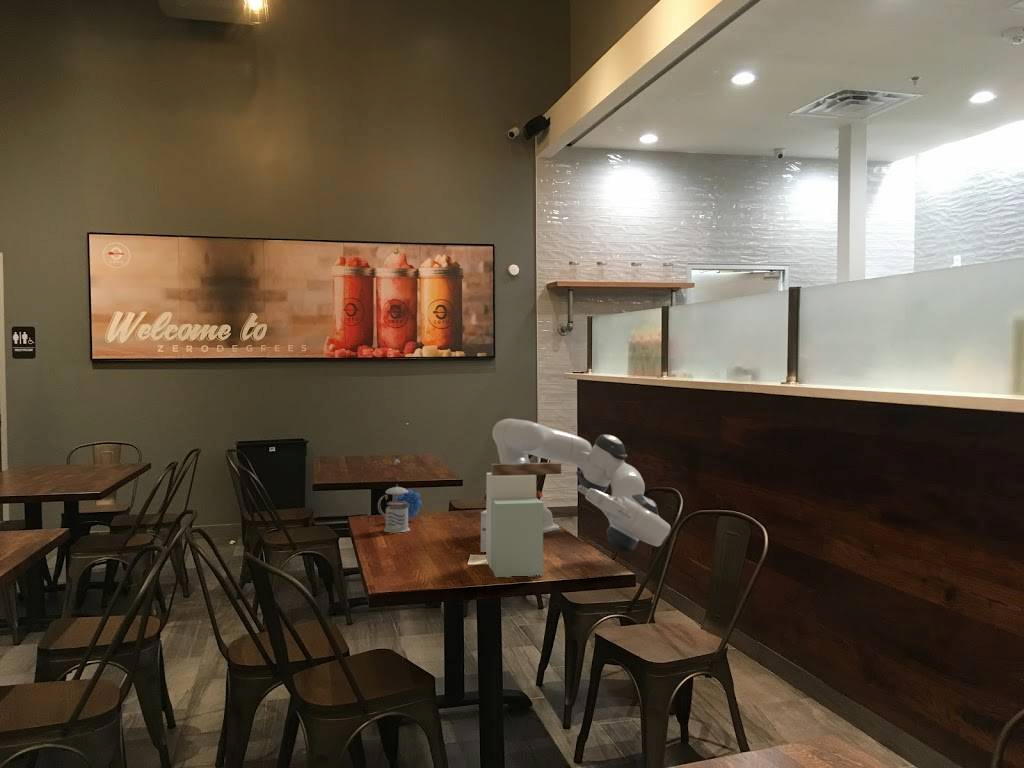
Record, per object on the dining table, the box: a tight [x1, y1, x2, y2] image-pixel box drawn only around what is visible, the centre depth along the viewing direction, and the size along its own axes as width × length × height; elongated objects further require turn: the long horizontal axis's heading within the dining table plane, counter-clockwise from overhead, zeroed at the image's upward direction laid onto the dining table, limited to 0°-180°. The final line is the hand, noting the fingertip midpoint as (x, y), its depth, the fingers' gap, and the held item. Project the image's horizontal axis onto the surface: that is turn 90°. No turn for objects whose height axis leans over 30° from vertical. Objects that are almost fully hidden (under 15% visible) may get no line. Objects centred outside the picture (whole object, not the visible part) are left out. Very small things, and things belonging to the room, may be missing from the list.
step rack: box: [485, 472, 544, 578], centre depth 218 cm, size 13×19×26 cm
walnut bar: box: [490, 461, 562, 476], centre depth 223 cm, size 20×3×3 cm, turn 100°
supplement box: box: [480, 509, 486, 553], centre depth 238 cm, size 7×7×13 cm
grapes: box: [392, 488, 423, 522], centre depth 286 cm, size 12×7×12 cm, turn 107°
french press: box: [377, 459, 411, 533], centre depth 269 cm, size 10×12×25 cm
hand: (582, 489), depth 226 cm, fingers open, 8 cm apart
